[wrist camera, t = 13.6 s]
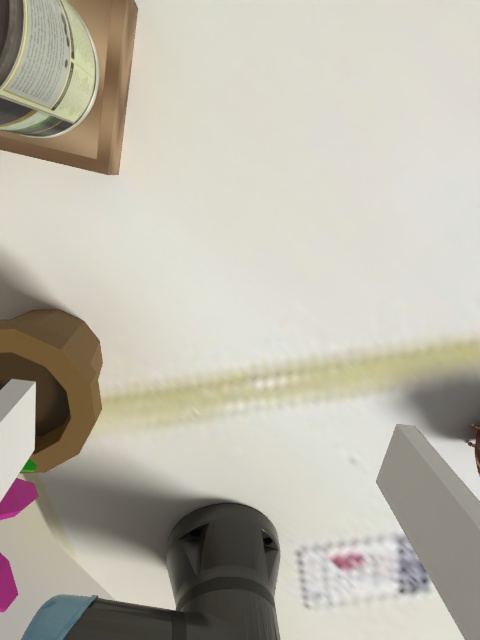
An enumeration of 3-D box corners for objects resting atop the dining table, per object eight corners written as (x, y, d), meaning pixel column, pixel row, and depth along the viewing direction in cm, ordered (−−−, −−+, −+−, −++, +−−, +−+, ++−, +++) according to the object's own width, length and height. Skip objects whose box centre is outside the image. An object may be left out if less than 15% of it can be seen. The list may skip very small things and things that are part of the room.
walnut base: (118, 174, 36) (107, 175, 32) (-33, 139, 34) (-64, 134, 30) (137, 8, 32) (127, -15, 28) (-34, -43, 30) (-71, -76, 26)
